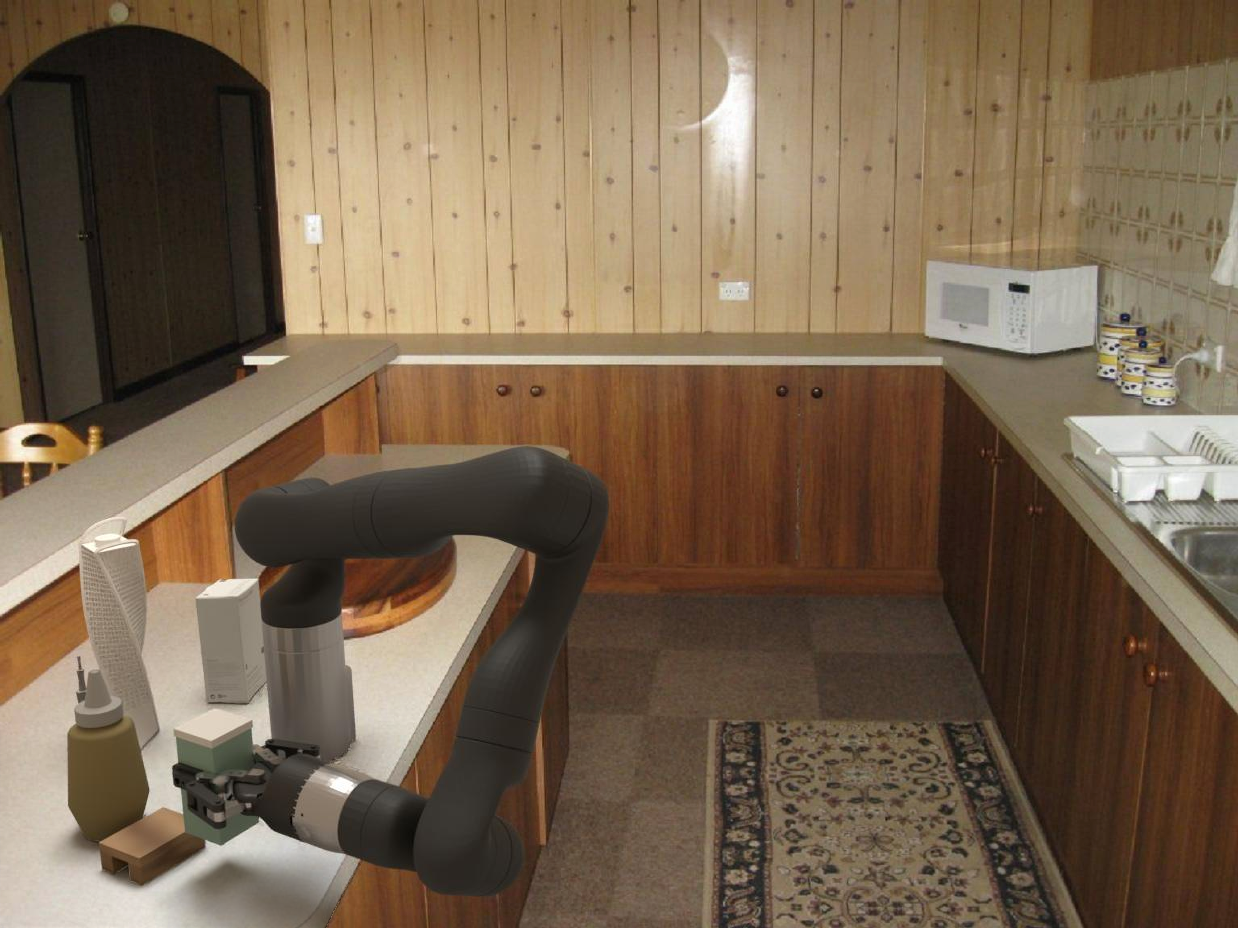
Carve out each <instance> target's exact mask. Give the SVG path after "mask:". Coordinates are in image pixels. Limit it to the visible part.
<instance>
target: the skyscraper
mask: <svg viewBox="0 0 1238 928" xmlns="http://www.w3.org/2000/svg"><path fill="white" fill-rule="evenodd" d="M116 521H122V522H121V524H120V525H121V527H120V530H119V533H107V534H101V535H98V536H96V537H94V540H93V541H89V542H85V540H86V538H87V537H88V535H90V533H91V532H92V531H93V530H95V529H96V528H98V527H99V526H102V525H105V524H108V523H110V522H111V523H112V522H116ZM127 521H128V518H127V517H126V516H113V517H109V518H106V519H102V520H99V521H98V522H96V523H94V524H92V525H91V526H90V527H88V528H87V529H85V531H84V532H83V534H82V536H81V538H80V540H79V541H78V562H79V581H80V591H81V600H82V601H81V602H82V610H83V615H84V621H85V625H86V629H87V630H86V631H87V634H88V638H89V642H90V645H91V648H92V652H93V655H94V657H95V661H96V663H97V665H98V670H100V671H101V674H102V676H103V679H104V682H105V684H106V687H107V690H108V692H109V695H110V696H115V697H118V698H120V699H121V700H122V704H123V712H124V714H123V715H126V716H128V717H130V718H131V719H132V720H133V721H134V724H135V728H136V733H137V737H138V741H139V746H140V750H141V751H143V749H144V748H145V747H146V746H147V745H148V744H149V743H150V742H151V741H152V740H153V739H154V738H155V736H156V735H157V734H158V733H159V732H160V731H161V727H160V722H159V717H158V713H157V710H156V709H157V708H156V705H155V699H154V696H153V691H152V686H151V684H150V680H149V676H148V675H149V674H148V672H147V668H146V665H145V662H144V658H143V650H144V644H145V636H146V630H147V629H146V628H147V615H148V614H147V612H148V606H147V605H148V599H147V598H148V596H147V586H146V585H147V583H146V576H145V570H144V563H143V557H142V553H141V546H140V542H139V539H135V538H134V539H133V538H132V539H131V538H130V539H128V538H126V537H124V534H125V529H126V525H127ZM76 659H77V664H78V665H77V666H78V669H76V674H77V680H78V689H77V690H76V691H75V694H76V699H77V704H79V703H80V702H82V701H84V700H85V696H86V688H87V684H86V681H85V680H86V679H85V669H84V668H83V667H82V661H81V655H76Z"/></svg>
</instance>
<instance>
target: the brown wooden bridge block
mask: <svg viewBox="0 0 1238 928" xmlns="http://www.w3.org/2000/svg"><path fill="white" fill-rule="evenodd" d="M206 845H207V844H206V840H204V839H201V838H199V837H196V836H194V835H191V834H188V833H186V832H185V827H184V817H183V813H181V812H178V811H175V810H173V809H169V808H166V807H164V806H163V807H161V808H159V809H158V810H155V811H153V812H152V813H150V814H148V815H146V816H145V817H144V816H143V819H141V820H139V821H137V822H135V823H133V824H132V825H130V826H128V827H126V828H124V829H122V830H121V831H119V832H117V833H115V834H113V835H112V836H110V837H108V838H106V839H104V840H102V841H98V848H99V857H100V864H101V870H102V871H105V872H108V873H110V874H113V875H115V874H117V873H118V872H120V871H121V870H124V869H125V868H127V867H128V873H129V881H130V882H133V883H135V884H138V885H140V886H144V885H146V884H147V883H149V882H151V881H153V880H154V879H156V878H157V877H159V876H161V875H162V874H165V873H166V872H168V871H169V870H170V869H172V868H174V867H176V866H178V865H179V864H181V863H182V862H185V860H187V859H189V858H191V857H192V856H194V855H195V854H197V853H199V852H200V851H202V850H204V849H205V848H207V847H206Z"/></svg>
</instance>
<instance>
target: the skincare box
mask: <svg viewBox="0 0 1238 928" xmlns="http://www.w3.org/2000/svg"><path fill="white" fill-rule="evenodd" d="M260 593H261V592H260V583H259V578H230V579H229V578H225V579H218V580H217V581H215V583H213V584H212V585H209V586H207V587H206V588H205V589H204V591H203V592H201V593H200V594H199V595H198V596H196V597H195V606H196V615H197V623H198V625H197V626H198V633H199V634H198V635H199V641H200V652H201V653H200V654H201V662H202V670H203V680H204V681H203V682H204V689H205V698H206V702H207V703H227V704H228V703H229V704H249V702H250V701H251V699H252V698H253V696H254V695H255V694H256V693H257V692H258V691H259V690H260V689H261V688H262V687H263V686H264V685H265V684H267V679H266V667H265V655H264V643H263V633H262V621H261V608H260V601H261V594H260Z"/></svg>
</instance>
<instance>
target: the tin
mask: <svg viewBox="0 0 1238 928" xmlns="http://www.w3.org/2000/svg"><path fill="white" fill-rule="evenodd" d="M252 728H254V724H253V719H250V718H248V717H244V716H241V715H239V714H238V715H237V714H235V713H231V712H228V711H226V710H223V709H218V708H215V707H214V708H212V709H210V710H209V711H206V712H205V713H202V714H200V715H198V716H196V717H195V718H192V719H190V720H188V721H185V722H184V723H182V724H179V725H177V726H176V727H174V728H173V730H172V731H173V737H175V744H176V754H177V763H179V762H180V763H183V764H186V765H189V766H192V767H195V768H198V769H201V770H203V771H204V772H212V773H221V772H222V771H223V770H224V769H234V770H248V769H249V768H251V767H252V766H253V765H255V764H254V758H253V757H252V752H253V744H254V742H253V740H254V739H253V732H252V731H253V729H252ZM210 787H211V791H215V792H216V791H218V786H217V785H216V784H215V783H210ZM231 792H232V795H233V781H231ZM180 795H181V805H182V814H183V817H184V827H185V832H186V833H188V834H191V835H194V836H196V837H199V838H201V839H204V840H205V841H207V842H210V843H212V844H215V845H218V846H220V847H221V846H223V845H225V844H226V843H228V842H230V841H231V840H233V839H234V838H236V837H238V836H239V835H241V834H243V833H245V832H246V831H247V830H249V829H251V828H252V827H254V826H256V825H257V824H259V823H260V817H258V816H245V815H242V814H240V813H238V814H236V815H234V816H231V817H229V818H227V819H226V820H227V826H226V827H225V828H222V829H214V828H213V827H212V826H210V825H209V824H207V823H206V822H205V821H203V820H202V819H200V818H199V817H198V816H196V815H195V814H193V813H192V812H191V811H189V810H188V807H187V803H188V802H187V792H186V790H183V789H181V788H180ZM233 796H234V795H233Z"/></svg>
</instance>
